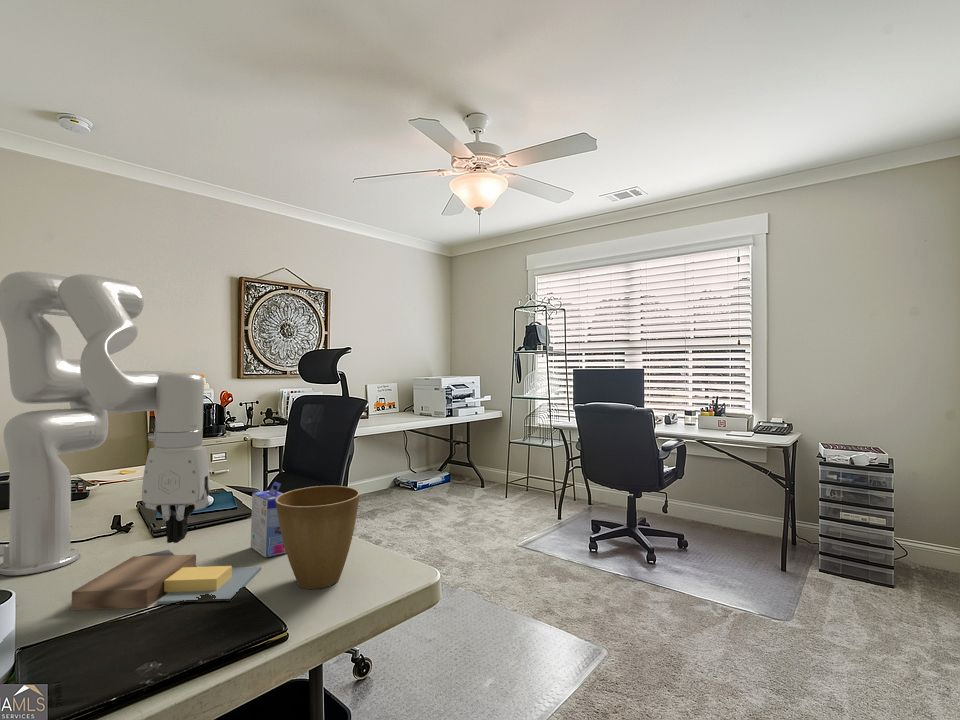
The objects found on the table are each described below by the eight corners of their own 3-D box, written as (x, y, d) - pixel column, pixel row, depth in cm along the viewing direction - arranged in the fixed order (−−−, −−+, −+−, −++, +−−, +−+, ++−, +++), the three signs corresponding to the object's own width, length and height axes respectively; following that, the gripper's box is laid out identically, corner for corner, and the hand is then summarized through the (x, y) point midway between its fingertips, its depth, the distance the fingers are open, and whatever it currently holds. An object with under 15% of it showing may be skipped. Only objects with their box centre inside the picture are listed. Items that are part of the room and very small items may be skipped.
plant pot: (265, 578, 94) (265, 493, 94) (341, 560, 103) (341, 482, 103) (289, 607, 82) (289, 510, 83) (373, 583, 91) (372, 495, 92)
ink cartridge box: (292, 552, 108) (292, 485, 108) (266, 559, 104) (266, 489, 105) (275, 541, 115) (274, 478, 116) (249, 547, 111) (249, 482, 112)
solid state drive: (141, 574, 98) (141, 570, 98) (130, 561, 105) (130, 558, 105) (181, 564, 103) (181, 561, 103) (168, 552, 110) (168, 549, 110)
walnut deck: (71, 610, 82) (71, 591, 82) (133, 571, 98) (133, 556, 98) (147, 607, 83) (147, 589, 83) (196, 569, 99) (196, 554, 99)
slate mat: (156, 604, 84) (157, 601, 84) (198, 571, 98) (198, 568, 98) (230, 601, 85) (230, 598, 85) (261, 569, 99) (261, 566, 99)
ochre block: (164, 592, 88) (164, 580, 88) (182, 578, 94) (182, 567, 94) (216, 590, 88) (216, 578, 88) (231, 576, 94) (231, 565, 94)
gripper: (123, 442, 88) (120, 548, 87) (211, 443, 89) (208, 547, 88) (149, 436, 95) (146, 533, 95) (229, 437, 96) (227, 533, 96)
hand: (176, 540), depth 92 cm, fingers closed
